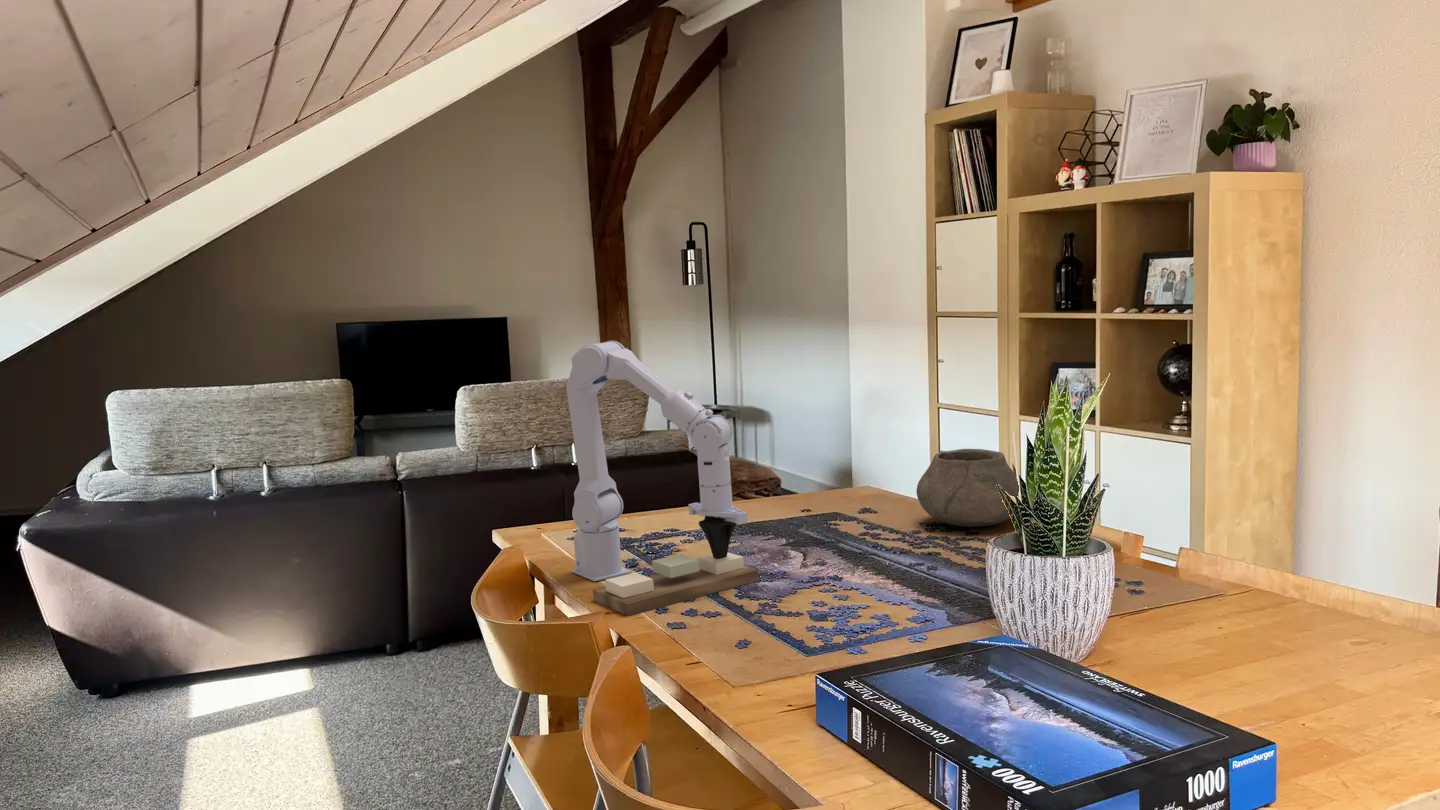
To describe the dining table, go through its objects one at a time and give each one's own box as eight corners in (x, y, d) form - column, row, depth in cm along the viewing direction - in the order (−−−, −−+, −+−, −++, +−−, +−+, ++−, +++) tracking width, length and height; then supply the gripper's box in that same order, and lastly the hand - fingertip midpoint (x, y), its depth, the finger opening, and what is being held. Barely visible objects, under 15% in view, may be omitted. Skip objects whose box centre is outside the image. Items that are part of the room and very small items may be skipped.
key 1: (606, 591, 179) (605, 579, 179) (636, 583, 182) (635, 572, 182) (623, 598, 174) (622, 586, 174) (654, 590, 178) (653, 579, 177)
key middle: (652, 571, 184) (651, 560, 184) (681, 564, 188) (680, 553, 187) (670, 578, 179) (669, 566, 179) (699, 570, 183) (698, 559, 183)
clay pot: (1022, 512, 226) (1019, 443, 224) (1028, 536, 205) (1025, 461, 203) (920, 513, 231) (917, 446, 229) (915, 537, 210) (912, 464, 208)
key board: (593, 600, 181) (592, 589, 181) (720, 568, 196) (720, 558, 196) (628, 616, 171) (627, 604, 171) (759, 580, 187) (758, 569, 186)
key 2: (697, 568, 190) (697, 557, 190) (724, 561, 193) (724, 551, 193) (716, 574, 185) (715, 563, 185) (743, 567, 188) (743, 556, 188)
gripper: (673, 483, 190) (678, 556, 192) (723, 492, 179) (728, 569, 181) (703, 477, 195) (708, 548, 196) (754, 485, 183) (759, 560, 185)
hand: (720, 557), depth 189 cm, fingers closed, pressing on key 2
